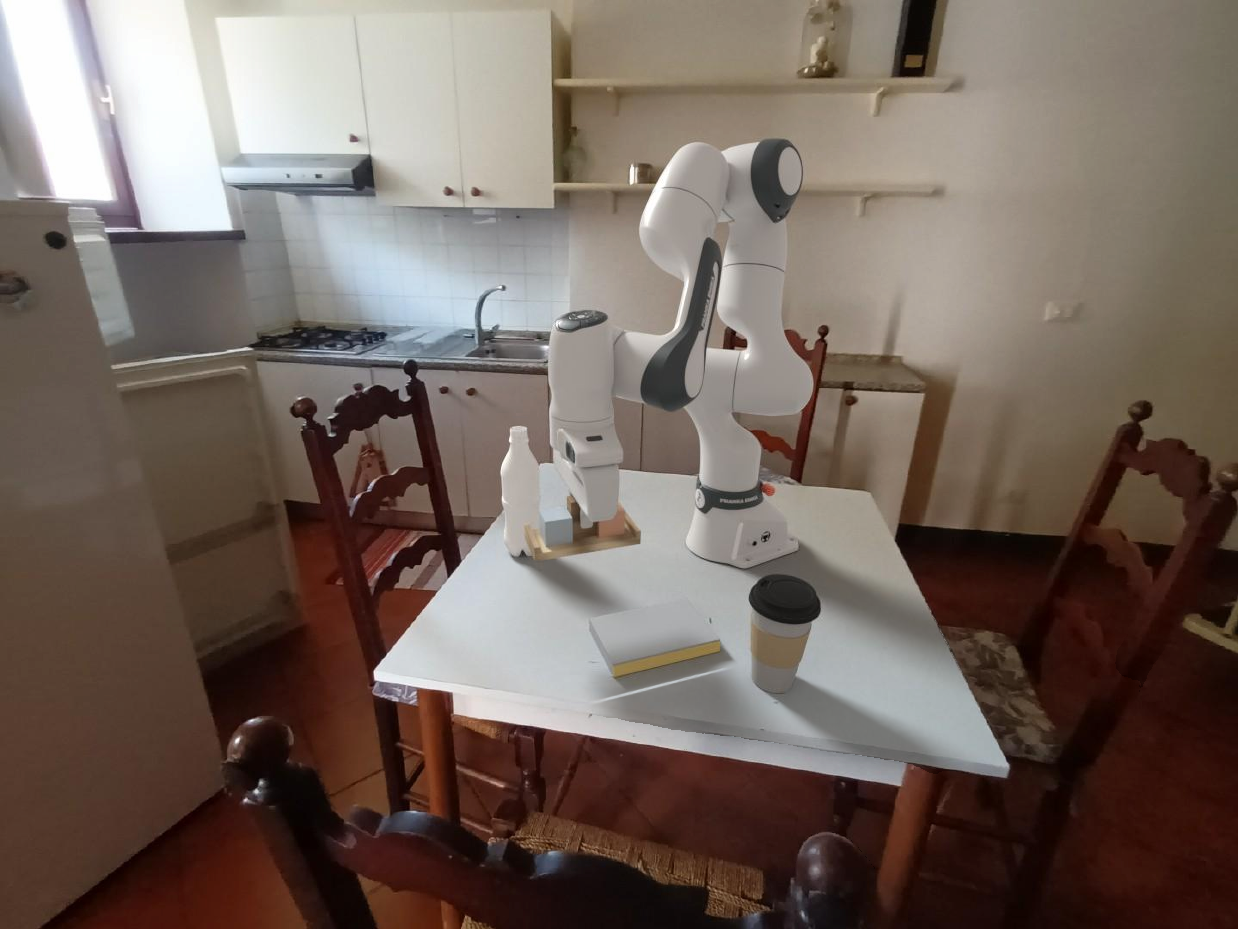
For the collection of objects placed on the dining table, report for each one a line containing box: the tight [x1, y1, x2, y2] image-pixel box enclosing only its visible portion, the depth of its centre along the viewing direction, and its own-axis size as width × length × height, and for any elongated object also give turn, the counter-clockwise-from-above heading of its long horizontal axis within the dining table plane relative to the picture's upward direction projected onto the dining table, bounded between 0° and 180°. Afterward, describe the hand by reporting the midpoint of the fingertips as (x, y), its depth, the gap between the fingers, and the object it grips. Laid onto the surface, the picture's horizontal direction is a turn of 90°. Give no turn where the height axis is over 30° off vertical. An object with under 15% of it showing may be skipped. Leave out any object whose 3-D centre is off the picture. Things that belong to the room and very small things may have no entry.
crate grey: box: [539, 505, 573, 547], centre depth 88 cm, size 4×4×4 cm
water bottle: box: [500, 425, 542, 558], centre depth 112 cm, size 7×7×25 cm
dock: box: [588, 597, 722, 678], centre depth 92 cm, size 17×11×2 cm, turn 110°
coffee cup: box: [748, 573, 822, 694], centre depth 83 cm, size 9×9×15 cm
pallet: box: [524, 495, 642, 562], centre depth 89 cm, size 16×7×7 cm, turn 110°
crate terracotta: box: [597, 501, 626, 538], centre depth 91 cm, size 4×4×4 cm
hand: (582, 520), depth 89 cm, fingers closed on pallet, 2 cm apart
